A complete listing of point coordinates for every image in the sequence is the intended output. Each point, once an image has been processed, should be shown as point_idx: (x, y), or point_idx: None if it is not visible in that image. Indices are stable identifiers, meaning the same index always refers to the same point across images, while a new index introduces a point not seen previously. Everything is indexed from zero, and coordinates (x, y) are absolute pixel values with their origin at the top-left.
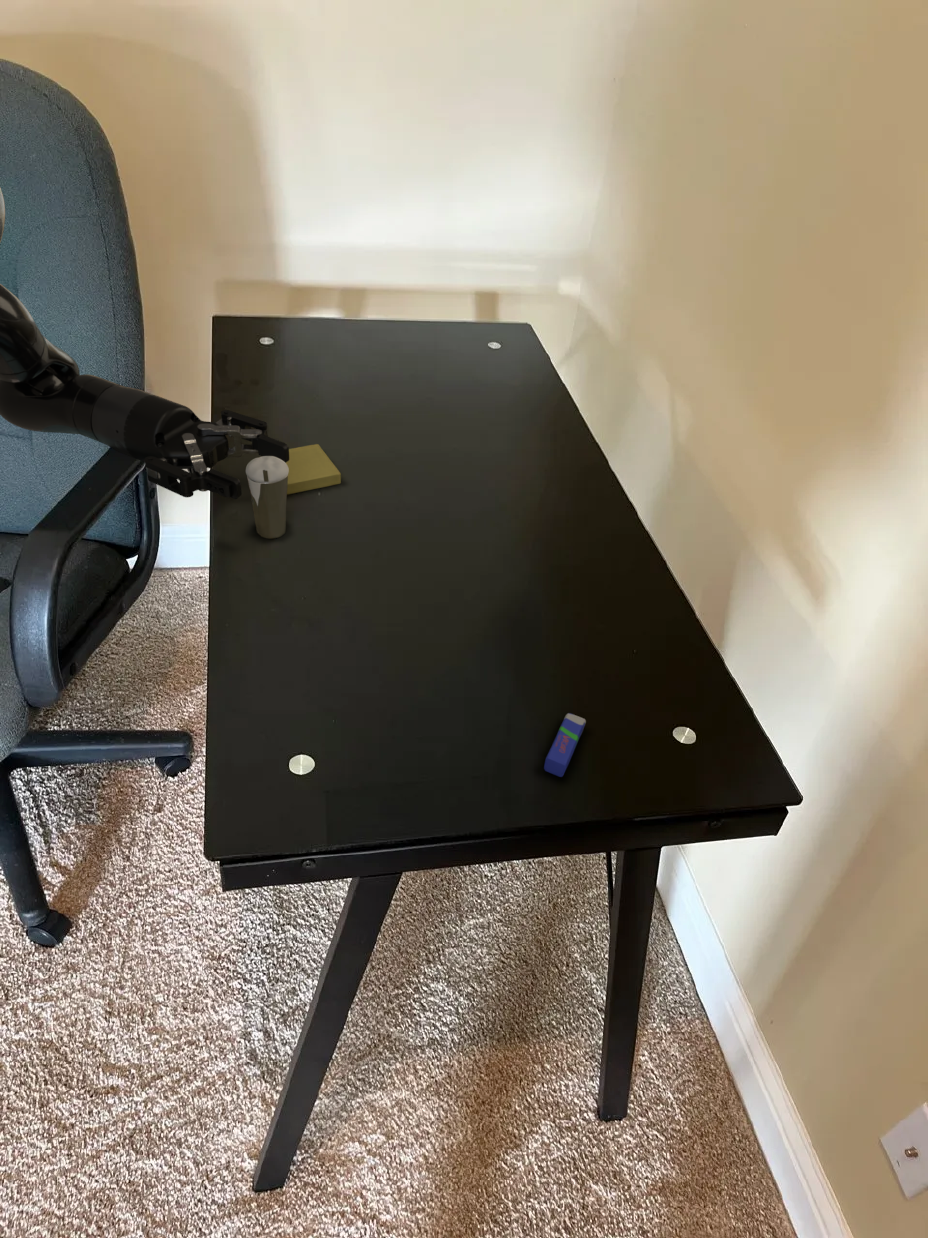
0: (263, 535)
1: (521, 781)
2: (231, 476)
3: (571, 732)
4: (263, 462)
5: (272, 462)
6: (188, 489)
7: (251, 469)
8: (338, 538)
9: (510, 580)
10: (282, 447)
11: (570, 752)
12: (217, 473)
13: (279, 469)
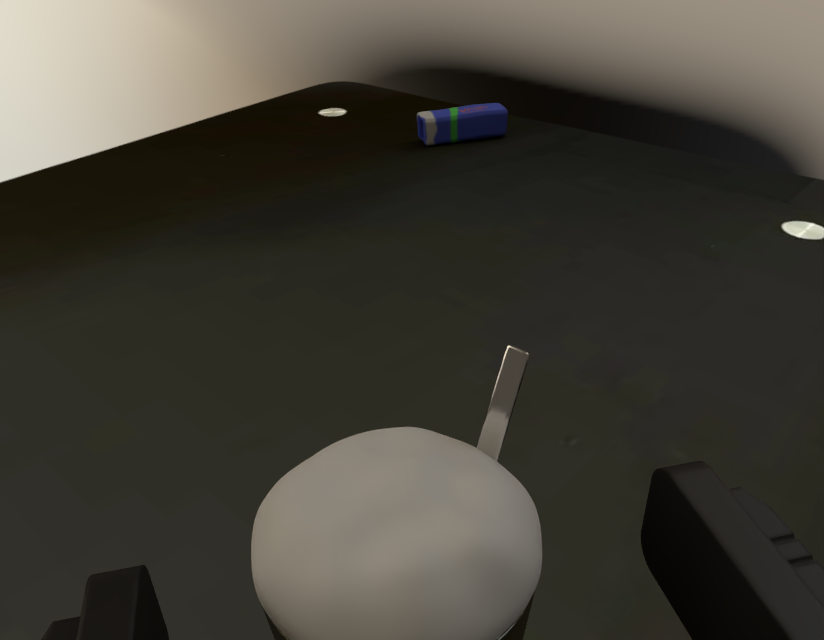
0: None
1: (538, 140)
2: (696, 504)
3: (450, 111)
4: (414, 494)
5: (353, 490)
6: None
7: (511, 526)
8: None
9: (156, 265)
10: (143, 570)
11: (478, 104)
12: (782, 586)
13: (375, 434)
